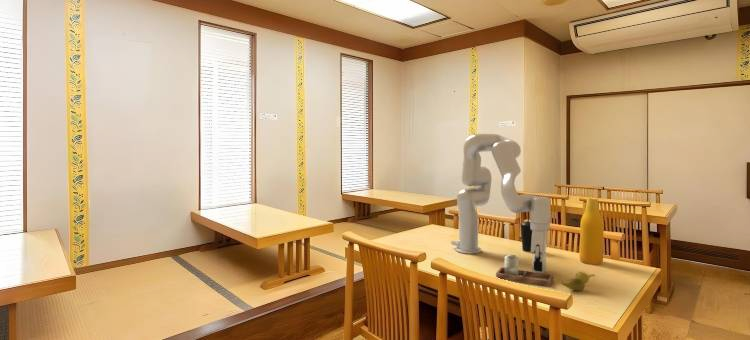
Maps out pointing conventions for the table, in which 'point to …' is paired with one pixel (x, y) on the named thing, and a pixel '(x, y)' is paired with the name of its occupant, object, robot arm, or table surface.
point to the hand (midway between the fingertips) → (539, 268)
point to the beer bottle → (591, 234)
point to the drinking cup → (526, 235)
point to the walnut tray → (522, 273)
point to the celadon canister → (542, 263)
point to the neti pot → (577, 281)
